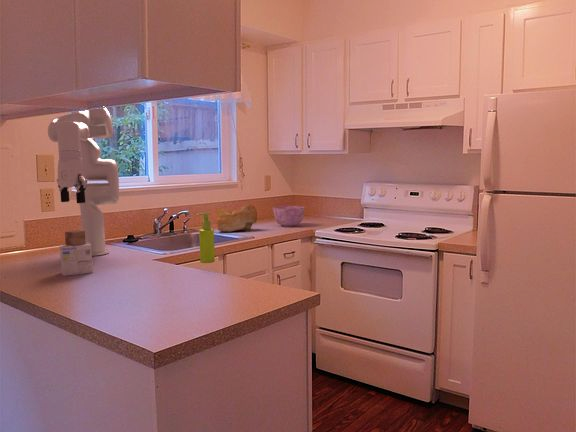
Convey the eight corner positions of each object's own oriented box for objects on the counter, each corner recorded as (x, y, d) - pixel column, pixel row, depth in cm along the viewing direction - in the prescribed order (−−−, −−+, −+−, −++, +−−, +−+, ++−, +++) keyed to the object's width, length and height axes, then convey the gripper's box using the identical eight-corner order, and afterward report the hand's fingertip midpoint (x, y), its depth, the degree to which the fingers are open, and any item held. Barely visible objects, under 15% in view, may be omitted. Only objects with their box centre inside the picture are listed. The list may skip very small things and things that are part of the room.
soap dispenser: (196, 261, 212) (195, 212, 210) (213, 259, 215) (211, 211, 212) (198, 263, 207) (197, 214, 205) (215, 262, 209) (214, 213, 207)
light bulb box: (90, 269, 199) (89, 242, 198) (93, 272, 193) (92, 244, 192) (60, 273, 194) (58, 244, 193) (62, 276, 188) (60, 247, 187)
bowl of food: (266, 226, 316) (265, 208, 315) (285, 223, 333) (285, 205, 331) (293, 229, 305) (292, 209, 304) (311, 225, 321) (311, 206, 320)
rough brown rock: (254, 229, 312) (253, 204, 312) (258, 230, 296) (257, 204, 296) (216, 232, 308) (214, 207, 307) (218, 233, 292) (216, 207, 291)
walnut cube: (65, 245, 192) (64, 231, 191) (77, 243, 196) (76, 230, 195) (73, 246, 189) (72, 232, 188) (85, 244, 193) (84, 230, 192)
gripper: (47, 156, 191) (50, 202, 193) (74, 155, 181) (78, 204, 183) (65, 155, 197) (68, 200, 199) (93, 155, 187) (96, 202, 189)
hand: (73, 202), depth 191 cm, fingers open, 9 cm apart
